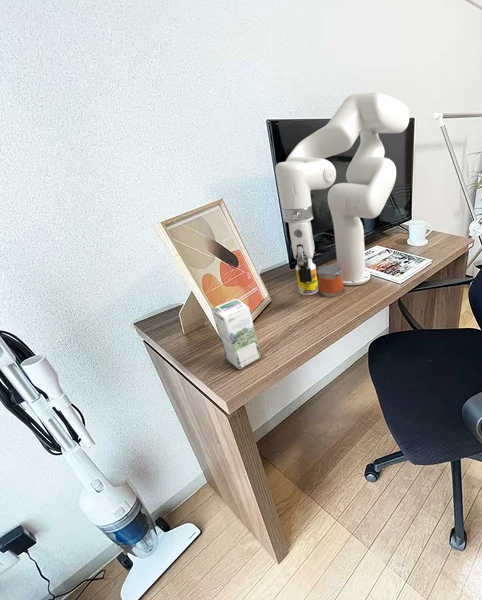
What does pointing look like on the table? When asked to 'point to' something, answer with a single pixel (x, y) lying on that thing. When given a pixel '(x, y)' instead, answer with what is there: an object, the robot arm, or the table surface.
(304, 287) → the supplement bottle
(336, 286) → the tin can
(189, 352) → the table surface
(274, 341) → the table surface
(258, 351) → the syrup box
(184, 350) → the table surface
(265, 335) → the table surface
